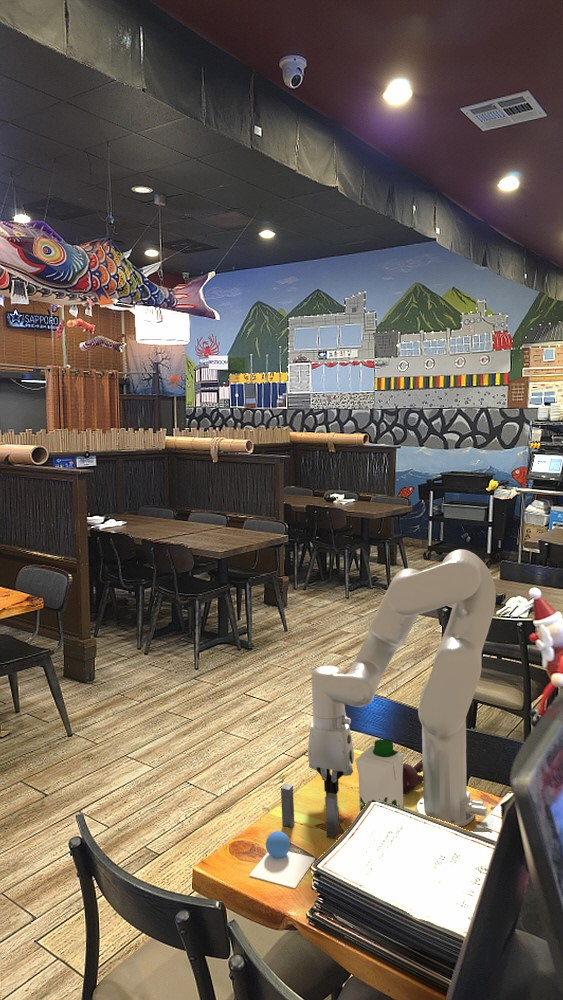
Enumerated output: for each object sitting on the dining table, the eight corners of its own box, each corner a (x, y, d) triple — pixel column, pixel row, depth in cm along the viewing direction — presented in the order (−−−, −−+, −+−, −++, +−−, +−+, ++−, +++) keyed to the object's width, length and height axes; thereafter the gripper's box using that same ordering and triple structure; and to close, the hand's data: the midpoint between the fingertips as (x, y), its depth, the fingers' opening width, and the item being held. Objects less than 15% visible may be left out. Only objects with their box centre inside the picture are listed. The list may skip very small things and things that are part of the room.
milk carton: (409, 832, 150) (407, 743, 148) (390, 854, 143) (387, 760, 141) (373, 820, 155) (370, 734, 153) (353, 841, 148) (350, 750, 146)
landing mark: (315, 859, 142) (315, 858, 142) (295, 888, 133) (295, 887, 133) (271, 848, 146) (271, 847, 146) (249, 876, 138) (248, 875, 138)
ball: (279, 863, 140) (290, 860, 144) (286, 837, 141) (296, 835, 145) (258, 853, 142) (269, 851, 146) (265, 828, 143) (276, 826, 147)
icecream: (391, 782, 159) (438, 769, 167) (371, 762, 165) (418, 750, 173) (385, 808, 161) (432, 793, 169) (365, 787, 167) (412, 774, 175)
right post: (338, 834, 151) (337, 794, 150) (335, 839, 149) (333, 799, 148) (330, 832, 151) (328, 792, 151) (326, 837, 150) (325, 797, 149)
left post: (294, 823, 155) (292, 785, 154) (290, 828, 153) (289, 789, 152) (286, 822, 156) (284, 783, 155) (282, 826, 154) (280, 788, 153)
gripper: (364, 718, 162) (367, 793, 164) (306, 709, 169) (308, 781, 170) (354, 731, 155) (356, 809, 157) (293, 721, 162) (296, 796, 164)
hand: (331, 794), depth 164 cm, fingers closed
